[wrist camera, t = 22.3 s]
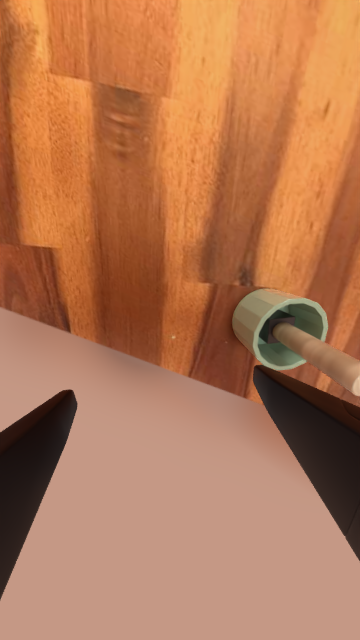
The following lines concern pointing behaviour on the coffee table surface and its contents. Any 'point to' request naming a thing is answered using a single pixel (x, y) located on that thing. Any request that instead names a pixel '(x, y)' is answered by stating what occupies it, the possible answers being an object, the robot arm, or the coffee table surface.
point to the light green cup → (260, 308)
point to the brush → (313, 350)
